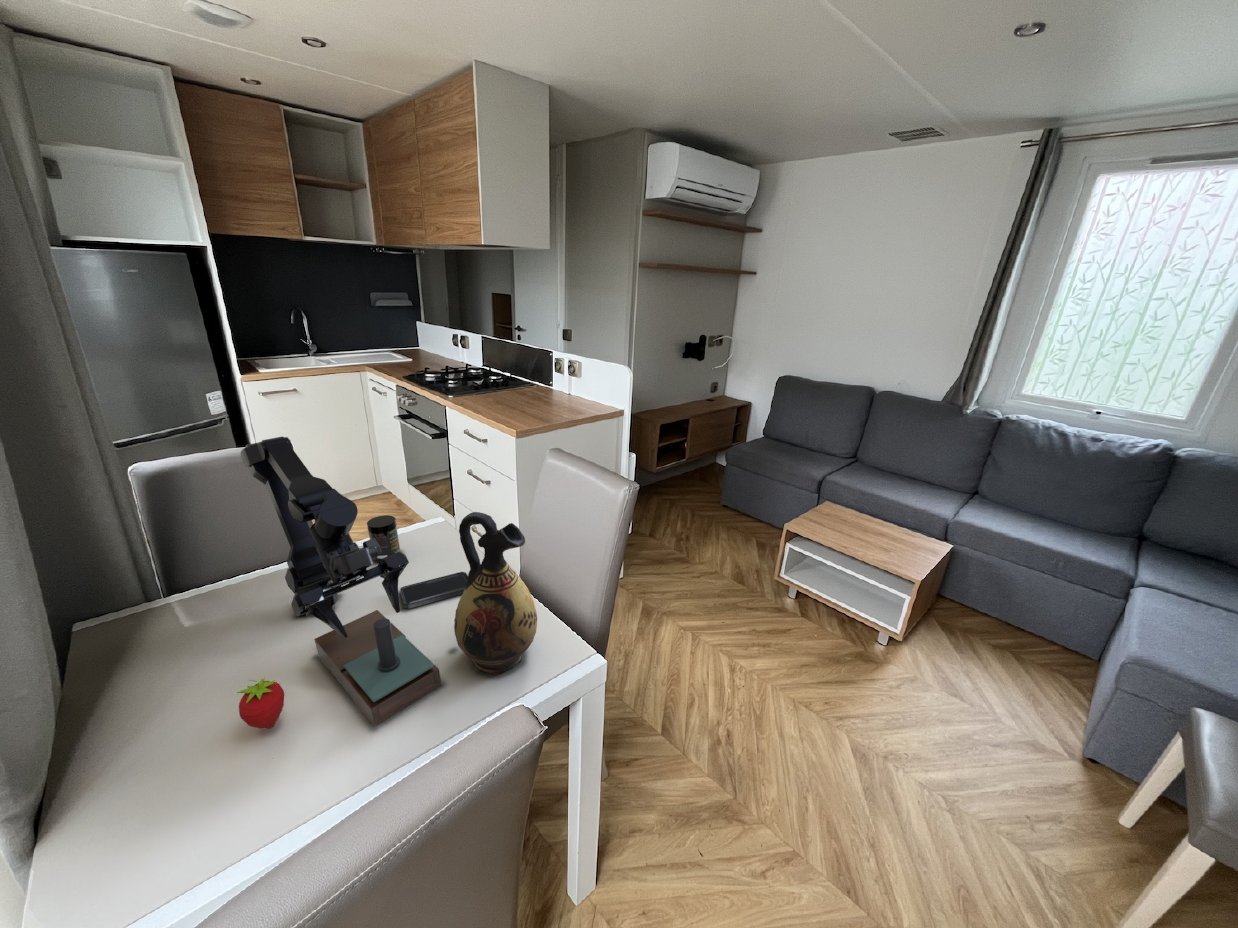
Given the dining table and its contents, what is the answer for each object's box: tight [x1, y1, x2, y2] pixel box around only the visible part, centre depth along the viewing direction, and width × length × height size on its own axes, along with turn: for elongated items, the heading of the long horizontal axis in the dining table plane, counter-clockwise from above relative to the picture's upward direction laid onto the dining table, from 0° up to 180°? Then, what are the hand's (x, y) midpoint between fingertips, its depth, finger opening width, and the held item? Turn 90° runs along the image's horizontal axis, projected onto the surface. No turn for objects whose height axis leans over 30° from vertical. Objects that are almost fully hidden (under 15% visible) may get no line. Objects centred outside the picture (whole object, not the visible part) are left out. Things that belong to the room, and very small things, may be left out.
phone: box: [399, 571, 468, 609], centre depth 115 cm, size 8×1×15 cm
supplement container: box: [366, 514, 402, 563], centre depth 128 cm, size 7×7×10 cm
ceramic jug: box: [453, 511, 538, 675], centre depth 92 cm, size 17×15×30 cm
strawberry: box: [236, 676, 285, 730], centre depth 78 cm, size 6×8×10 cm
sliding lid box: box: [314, 609, 442, 727], centre depth 92 cm, size 24×12×4 cm, turn 49°
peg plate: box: [344, 617, 436, 702], centre depth 85 cm, size 12×11×9 cm
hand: (373, 624), depth 87 cm, fingers open, 9 cm apart
